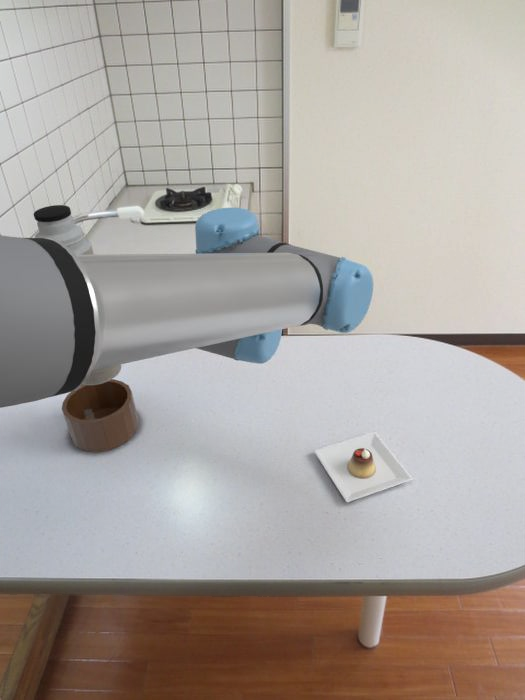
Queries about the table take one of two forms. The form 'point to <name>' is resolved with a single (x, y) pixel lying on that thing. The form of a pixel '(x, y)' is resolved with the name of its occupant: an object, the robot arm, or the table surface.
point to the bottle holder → (101, 415)
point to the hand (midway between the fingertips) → (52, 286)
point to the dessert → (362, 466)
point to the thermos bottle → (62, 228)
